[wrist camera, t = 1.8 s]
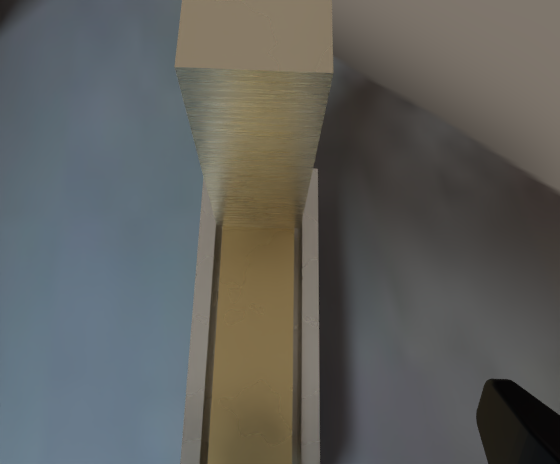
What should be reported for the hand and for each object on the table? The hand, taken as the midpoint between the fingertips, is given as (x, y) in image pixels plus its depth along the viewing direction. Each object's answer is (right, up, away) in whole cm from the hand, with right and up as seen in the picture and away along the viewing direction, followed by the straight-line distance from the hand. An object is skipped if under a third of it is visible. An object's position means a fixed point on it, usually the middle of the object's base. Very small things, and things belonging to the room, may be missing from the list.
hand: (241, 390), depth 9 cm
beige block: (0, -1, +13) cm, 13 cm away
